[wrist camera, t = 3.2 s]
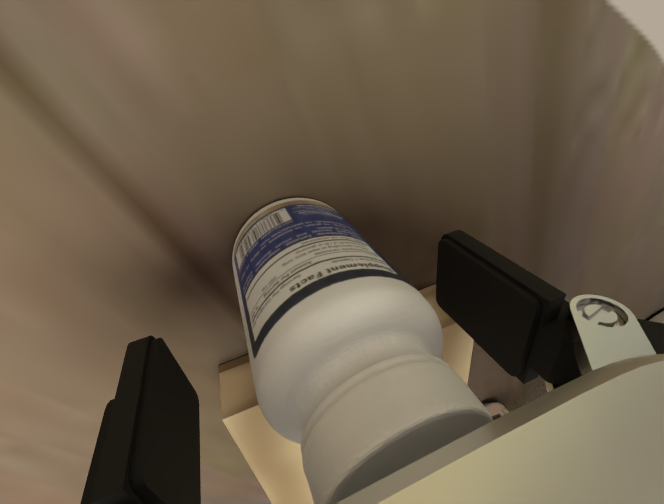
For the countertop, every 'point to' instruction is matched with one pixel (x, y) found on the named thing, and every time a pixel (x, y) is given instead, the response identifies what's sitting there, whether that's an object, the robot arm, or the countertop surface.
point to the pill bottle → (343, 350)
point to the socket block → (284, 455)
